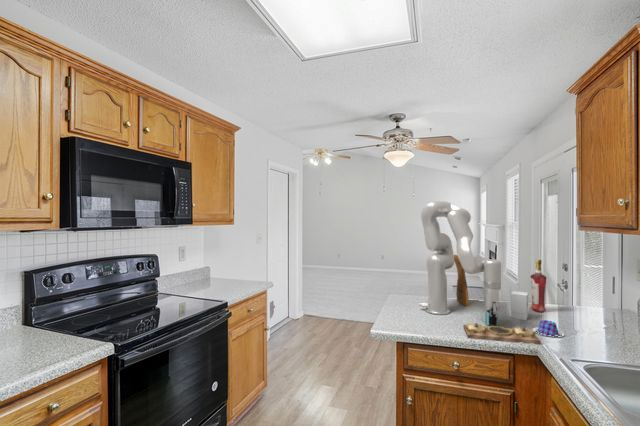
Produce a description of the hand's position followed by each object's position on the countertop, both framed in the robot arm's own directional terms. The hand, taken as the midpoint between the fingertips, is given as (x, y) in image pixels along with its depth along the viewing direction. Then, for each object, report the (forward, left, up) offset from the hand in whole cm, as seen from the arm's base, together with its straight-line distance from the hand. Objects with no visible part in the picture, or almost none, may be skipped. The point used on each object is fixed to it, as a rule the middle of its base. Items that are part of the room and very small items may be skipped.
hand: (491, 322), depth 165 cm
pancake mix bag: (-9, +38, -1) cm, 39 cm away
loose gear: (0, 0, -1) cm, 1 cm away
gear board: (0, -14, -1) cm, 14 cm away
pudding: (+22, -5, -2) cm, 23 cm away
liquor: (+29, +30, -1) cm, 42 cm away
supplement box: (+16, +16, -1) cm, 23 cm away
